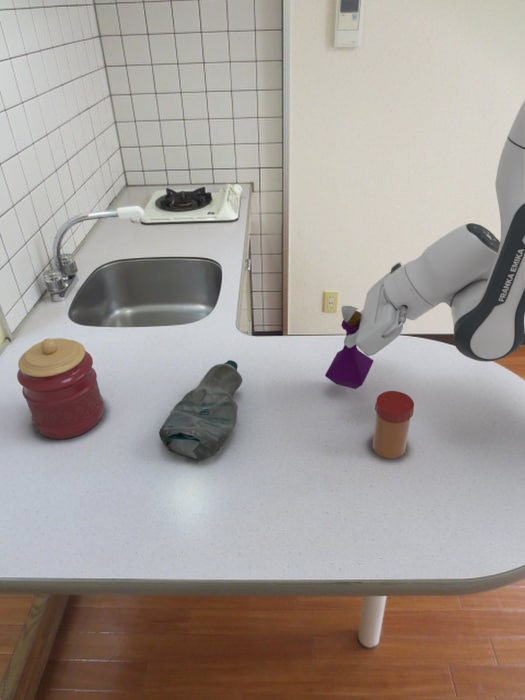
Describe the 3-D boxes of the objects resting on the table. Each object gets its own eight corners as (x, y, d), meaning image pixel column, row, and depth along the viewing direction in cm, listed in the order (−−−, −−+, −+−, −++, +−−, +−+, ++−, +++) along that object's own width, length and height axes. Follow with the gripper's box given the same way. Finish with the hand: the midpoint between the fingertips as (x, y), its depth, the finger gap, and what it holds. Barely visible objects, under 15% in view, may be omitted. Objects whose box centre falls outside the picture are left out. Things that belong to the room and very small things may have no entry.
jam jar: (399, 434, 94) (406, 392, 89) (409, 457, 89) (416, 414, 84) (369, 437, 94) (373, 395, 88) (376, 459, 89) (382, 416, 84)
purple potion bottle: (337, 364, 108) (337, 291, 96) (373, 372, 105) (377, 298, 94) (324, 388, 103) (322, 313, 92) (361, 397, 100) (364, 322, 89)
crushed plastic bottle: (218, 472, 88) (266, 382, 107) (211, 440, 84) (262, 353, 103) (150, 459, 92) (208, 375, 111) (140, 429, 88) (202, 347, 107)
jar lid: (406, 398, 90) (407, 389, 88) (417, 422, 85) (419, 413, 83) (371, 400, 89) (372, 391, 88) (380, 424, 84) (381, 415, 83)
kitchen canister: (100, 389, 108) (81, 314, 98) (110, 428, 98) (90, 350, 88) (33, 406, 104) (6, 330, 94) (36, 449, 94) (7, 369, 84)
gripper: (417, 338, 83) (352, 379, 91) (420, 281, 99) (365, 320, 107) (391, 310, 82) (327, 355, 90) (399, 257, 98) (344, 299, 106)
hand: (348, 336), depth 99 cm, fingers closed on purple potion bottle, 4 cm apart
